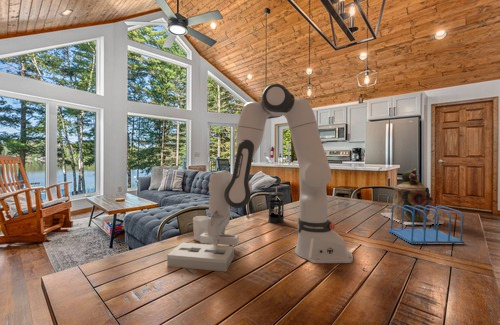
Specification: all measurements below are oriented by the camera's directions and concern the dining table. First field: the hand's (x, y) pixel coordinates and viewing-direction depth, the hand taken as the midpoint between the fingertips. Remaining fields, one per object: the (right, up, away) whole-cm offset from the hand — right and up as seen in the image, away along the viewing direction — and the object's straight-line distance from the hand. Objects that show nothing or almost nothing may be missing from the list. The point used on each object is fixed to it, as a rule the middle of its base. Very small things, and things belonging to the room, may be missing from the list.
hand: (219, 240), depth 104 cm
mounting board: (-5, -4, -12) cm, 13 cm away
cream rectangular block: (0, -4, 0) cm, 4 cm away
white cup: (-10, -3, +12) cm, 16 cm away
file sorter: (+98, -4, +15) cm, 100 cm away
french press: (+29, -2, +42) cm, 51 cm away
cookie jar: (+112, -3, +46) cm, 122 cm away
